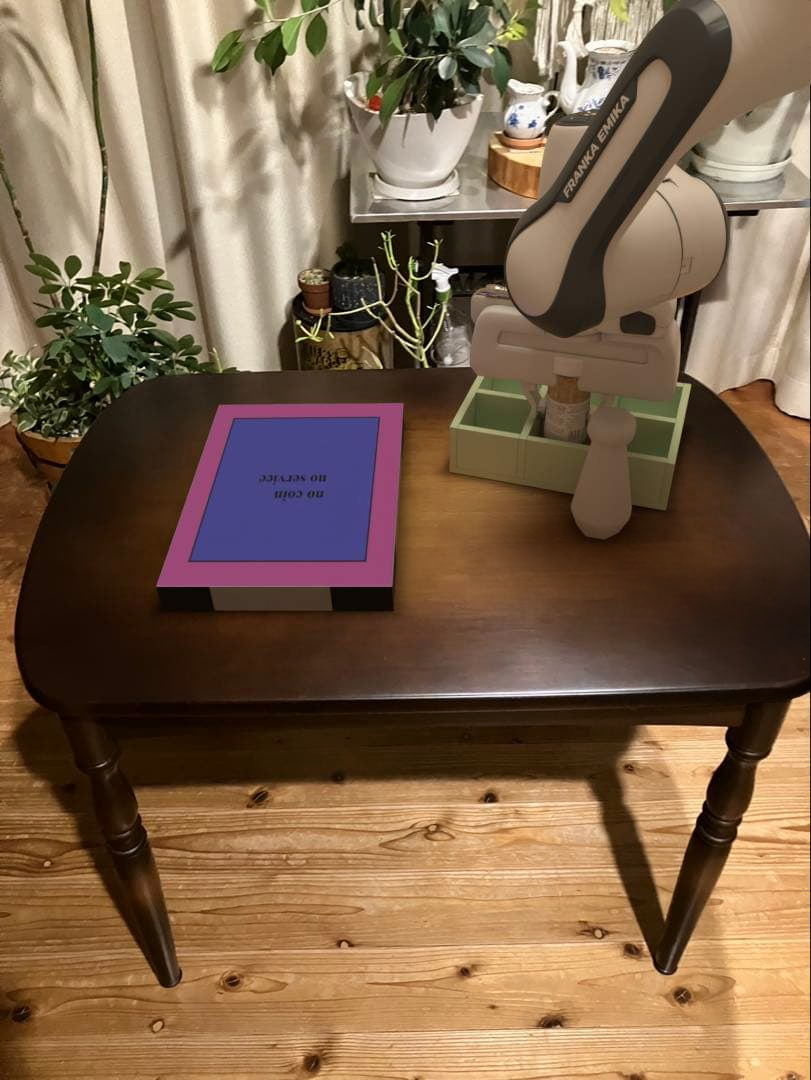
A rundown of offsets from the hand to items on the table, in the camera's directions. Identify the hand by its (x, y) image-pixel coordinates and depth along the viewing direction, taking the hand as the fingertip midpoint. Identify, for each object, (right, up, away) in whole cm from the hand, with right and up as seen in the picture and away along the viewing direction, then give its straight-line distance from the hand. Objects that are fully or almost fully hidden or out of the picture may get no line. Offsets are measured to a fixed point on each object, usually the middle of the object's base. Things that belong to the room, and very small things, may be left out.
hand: (566, 421), depth 93 cm
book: (-28, -9, +1) cm, 29 cm away
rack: (+1, -2, +7) cm, 7 cm away
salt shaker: (+3, -11, -3) cm, 12 cm away
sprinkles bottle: (0, -4, +3) cm, 5 cm away
